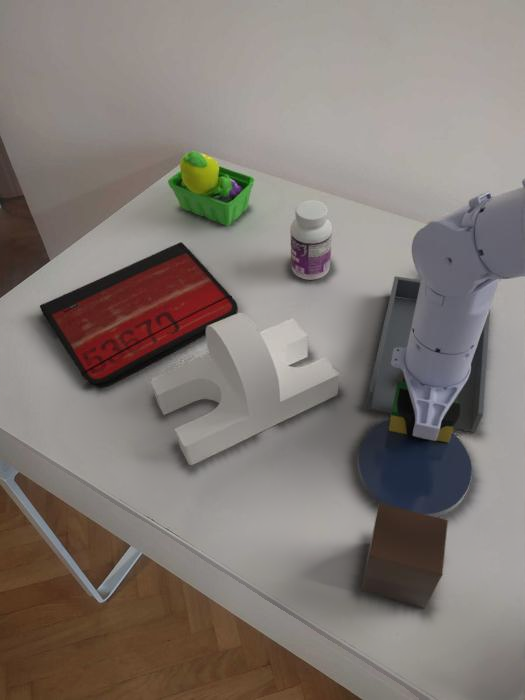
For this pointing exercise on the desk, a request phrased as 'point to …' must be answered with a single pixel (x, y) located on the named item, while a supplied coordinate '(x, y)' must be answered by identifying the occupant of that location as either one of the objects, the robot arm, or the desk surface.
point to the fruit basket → (211, 188)
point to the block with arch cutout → (244, 384)
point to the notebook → (138, 314)
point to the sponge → (399, 423)
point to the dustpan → (398, 336)
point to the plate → (414, 471)
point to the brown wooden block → (405, 555)
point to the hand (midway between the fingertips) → (420, 418)
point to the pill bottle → (311, 240)
